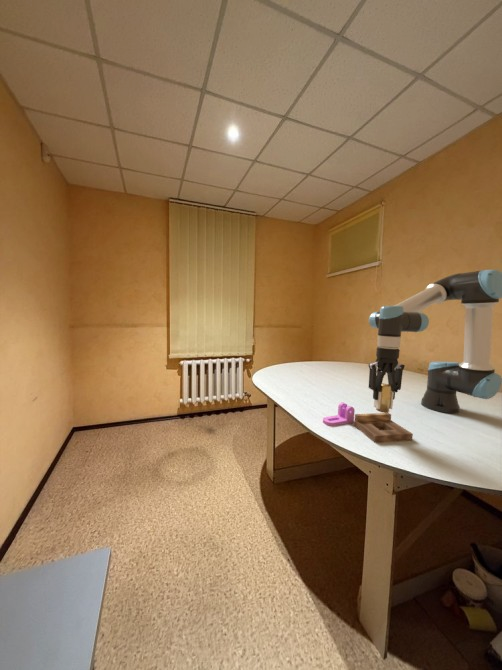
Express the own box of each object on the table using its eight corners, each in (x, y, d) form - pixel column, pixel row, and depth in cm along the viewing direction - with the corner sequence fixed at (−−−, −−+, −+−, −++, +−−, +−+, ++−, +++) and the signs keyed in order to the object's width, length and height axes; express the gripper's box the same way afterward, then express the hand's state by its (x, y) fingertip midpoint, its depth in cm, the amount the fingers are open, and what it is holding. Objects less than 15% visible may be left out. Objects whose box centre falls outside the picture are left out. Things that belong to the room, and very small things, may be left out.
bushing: (384, 408, 97) (386, 383, 96) (391, 412, 92) (394, 386, 91) (373, 408, 96) (375, 383, 95) (381, 412, 92) (383, 386, 91)
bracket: (344, 417, 109) (345, 401, 108) (353, 422, 104) (354, 406, 103) (320, 421, 105) (320, 405, 104) (328, 426, 99) (329, 410, 99)
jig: (387, 424, 103) (388, 412, 102) (412, 440, 90) (413, 427, 89) (354, 425, 100) (355, 414, 100) (374, 442, 88) (375, 429, 87)
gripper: (401, 346, 97) (396, 403, 99) (360, 345, 94) (356, 404, 97) (416, 349, 89) (410, 411, 92) (373, 348, 87) (367, 412, 89)
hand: (382, 407), depth 94 cm, fingers closed on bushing, 4 cm apart
